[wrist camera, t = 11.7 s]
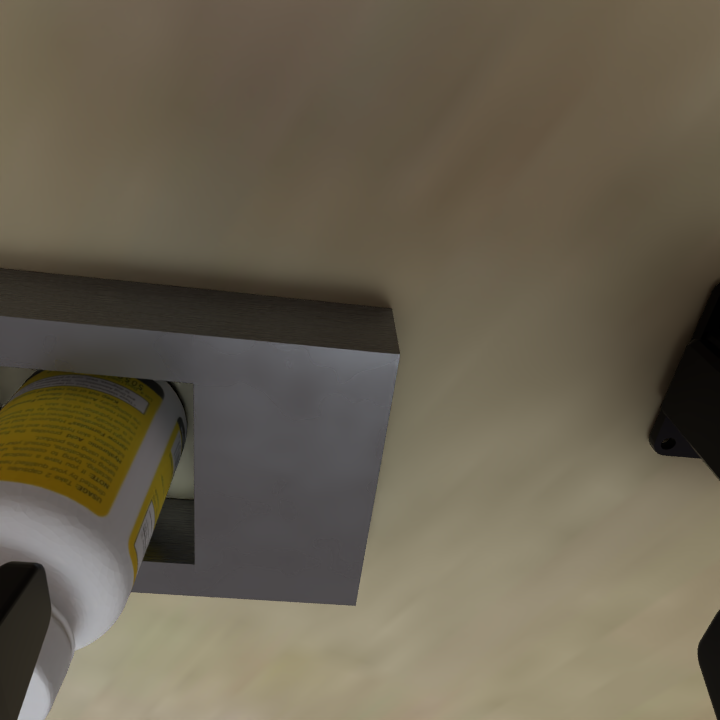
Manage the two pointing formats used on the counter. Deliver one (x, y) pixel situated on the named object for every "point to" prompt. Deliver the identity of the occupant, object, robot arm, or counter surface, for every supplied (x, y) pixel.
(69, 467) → the supplement bottle
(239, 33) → the counter surface
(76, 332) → the grey slab with hole
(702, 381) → the robot arm
